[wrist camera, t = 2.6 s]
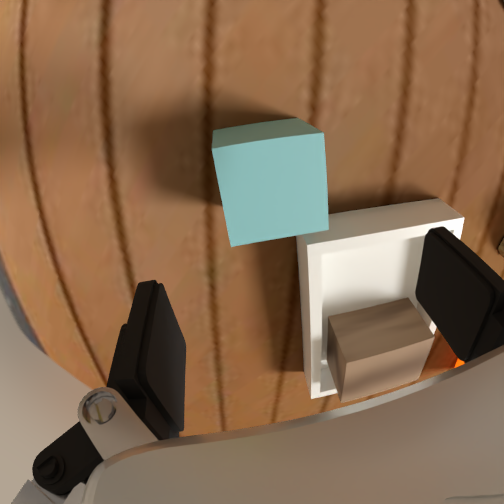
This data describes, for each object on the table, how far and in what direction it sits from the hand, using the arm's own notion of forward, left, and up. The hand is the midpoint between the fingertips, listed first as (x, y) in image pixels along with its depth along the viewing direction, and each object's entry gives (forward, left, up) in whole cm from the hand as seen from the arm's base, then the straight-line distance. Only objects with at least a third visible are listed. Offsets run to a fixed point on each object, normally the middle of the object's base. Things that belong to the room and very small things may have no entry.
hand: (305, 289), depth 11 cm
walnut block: (+19, +9, -13) cm, 25 cm away
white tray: (+15, +9, -14) cm, 23 cm away
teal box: (0, 0, -14) cm, 14 cm away
